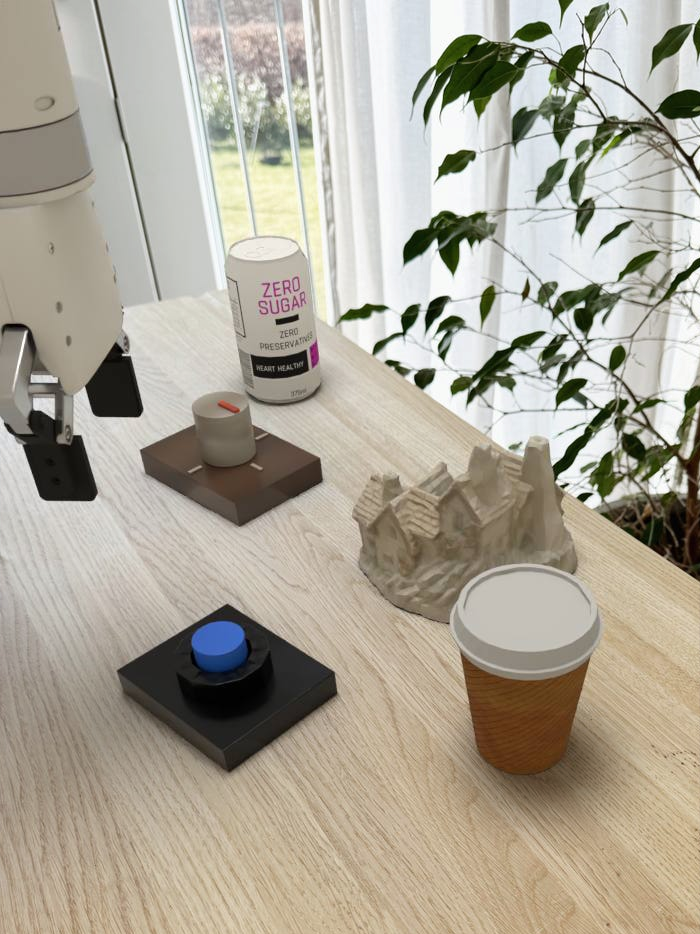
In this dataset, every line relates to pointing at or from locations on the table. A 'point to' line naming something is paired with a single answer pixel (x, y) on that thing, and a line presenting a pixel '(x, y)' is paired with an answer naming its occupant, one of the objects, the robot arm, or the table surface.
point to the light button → (219, 646)
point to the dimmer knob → (224, 428)
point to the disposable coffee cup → (525, 660)
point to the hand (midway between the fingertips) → (96, 454)
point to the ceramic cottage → (461, 526)
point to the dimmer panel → (233, 474)
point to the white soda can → (273, 318)
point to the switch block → (229, 690)
